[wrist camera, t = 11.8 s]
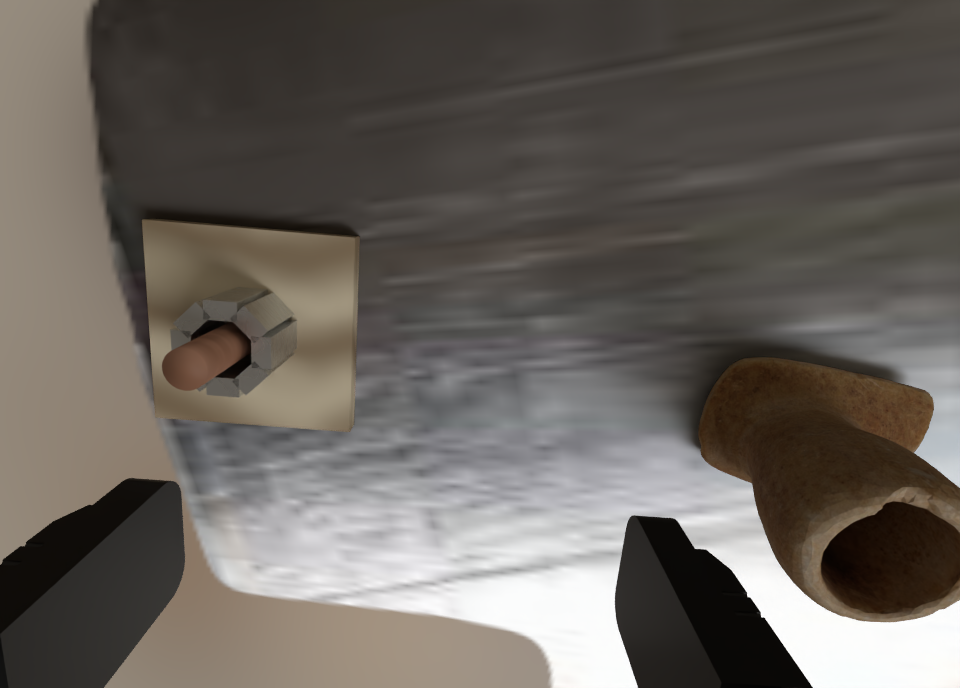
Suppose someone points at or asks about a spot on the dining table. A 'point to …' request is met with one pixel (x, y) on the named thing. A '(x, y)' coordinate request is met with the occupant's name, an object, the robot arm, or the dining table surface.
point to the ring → (257, 320)
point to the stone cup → (840, 484)
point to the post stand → (251, 264)
